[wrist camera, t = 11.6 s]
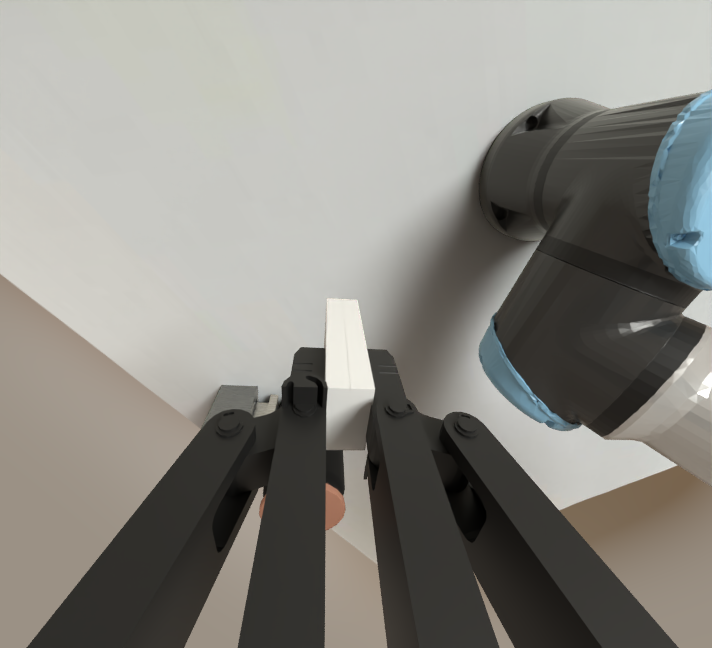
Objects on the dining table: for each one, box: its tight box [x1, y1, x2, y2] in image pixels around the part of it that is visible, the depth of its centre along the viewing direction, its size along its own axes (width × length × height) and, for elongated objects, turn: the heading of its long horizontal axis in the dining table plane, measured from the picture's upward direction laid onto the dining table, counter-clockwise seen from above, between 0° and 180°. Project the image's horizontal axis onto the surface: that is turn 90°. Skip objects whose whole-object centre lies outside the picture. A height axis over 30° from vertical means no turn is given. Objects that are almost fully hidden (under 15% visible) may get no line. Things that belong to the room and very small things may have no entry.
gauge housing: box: [201, 385, 259, 429], centre depth 47 cm, size 6×9×9 cm, turn 174°
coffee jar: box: [259, 403, 345, 531], centre depth 45 cm, size 11×11×18 cm
